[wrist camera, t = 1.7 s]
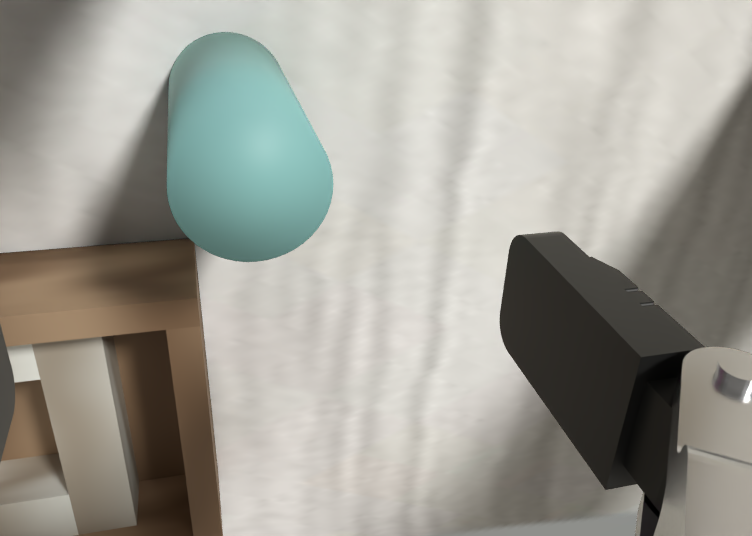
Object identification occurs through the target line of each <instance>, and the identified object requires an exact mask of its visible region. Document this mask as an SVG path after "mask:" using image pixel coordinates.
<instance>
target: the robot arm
mask: <svg viewBox="0 0 752 536" xmlns="http://www.w3.org/2000/svg"><path fill="white" fill-rule="evenodd" d="M500 330H501V335H502V339H503V342H504V345H505V347H506V349H507V351H508V353H509V354H510V355H511V357H512V358H513V360H514V361H515V362H516V364H517V365H518V367H519V368H520V370H521V371H522V372H523V374H524V375H525V377H526V378H527V379H528V381H529V382H530V384H531V385H532V386H533V388H534V389H535V391H536V392H537V394H538V395H539V396H540V398H541V399H542V401H543V402H544V403H545V405H546V406H547V408H548V409H549V410H550V412H551V413H552V415H553V416H554V418H555V419H556V420H557V422H558V423H559V425H560V426H561V427H562V429H563V430H564V432H565V433H566V435H567V436H568V437H569V439H570V440H571V442H572V443H573V444H574V446H575V447H576V449H577V450H578V451H579V453H580V454H581V456H582V457H583V459H584V460H585V461H586V463H587V464H588V466H589V467H590V468H591V470H592V471H593V473H594V474H595V476H596V477H597V478H598V480H599V481H600V483H601V484H602V485H603V487H604V488H605V490H607V489H613V488H618V487H623V486H629V485H634V484H638V485H639V487H640V488H641V489H642V491H643V494H642V497H641V501H640V504H639V508H638V513H637V521H636V530H635V536H752V354H750V353H748V352H744V351H741V350H737V349H732V348H726V347H704V346H703V345H702V344H701V343H700V342H699V341H697V340H696V339H695V338H694V337H693V336H692V335H691V334H690V333H688V332H687V331H686V330H685V329H684V328H683V327H682V326H681V325H680V324H678V323H677V322H676V321H675V320H674V319H673V318H672V317H671V316H669V315H668V314H667V313H666V312H665V311H664V310H663V309H662V308H660V307H659V306H658V305H654V301H653V300H652V299H650V298H649V297H648V296H647V295H646V294H645V293H644V292H643V291H638V287H637V286H636V285H635V284H634V283H632V282H631V281H630V280H629V279H628V278H627V277H626V276H625V275H624V274H622V273H621V272H620V271H619V270H617V269H615V268H613V267H611V266H609V265H607V264H605V263H603V262H601V261H599V260H597V259H595V258H593V257H589V256H588V255H586V254H585V253H584V252H583V251H582V250H581V249H580V248H579V247H578V246H577V245H576V244H575V243H573V242H572V241H571V240H570V239H569V238H568V237H567V236H566V235H565V234H563V233H562V232H548V233H537V234H525V235H518V236H516V237H515V238H514V239H513V240H512V242H511V245H510V249H509V255H508V262H507V269H506V276H505V283H504V290H503V297H502V304H501V311H500ZM14 408H15V383H14V376H13V370H12V366H11V363H10V359H9V355H8V351H7V347H6V344H5V340H4V336H3V332H2V328H1V325H0V463H1V459H2V455H3V451H4V448H5V444H6V440H7V436H8V433H9V429H10V425H11V421H12V418H13V414H14Z"/></svg>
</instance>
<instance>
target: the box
mask: <svg viewBox="0 0 752 536" xmlns="http://www.w3.org/2000/svg"><path fill="white" fill-rule="evenodd" d="M0 325H1V328H2V332H3V336H4V340H5V344H6V347H7V351H8V355H9V359H10V363H11V366H12V370H13V376H14V383H15V408H14V414H13V418H12V421H11V425H10V429H9V433H8V436H7V440H6V444H5V448H4V451H3V455H2V459H1V463H0V536H223V532H222V519H221V505H220V492H219V478H218V467H217V458H216V448H215V438H214V429H213V419H212V409H211V399H210V390H209V380H208V370H207V361H206V351H205V341H204V332H203V322H202V312H201V302H200V293H199V283H198V273H197V264H196V254H195V244H194V242H193V241H191V240H190V239H176V240H163V241H151V242H138V243H125V244H112V245H100V246H87V247H74V248H61V249H49V250H36V251H23V252H10V253H0Z"/></svg>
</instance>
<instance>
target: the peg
mask: <svg viewBox="0 0 752 536" xmlns="http://www.w3.org/2000/svg"><path fill="white" fill-rule="evenodd" d="M332 193H333V174H332V170H331V165H330V162H329V159H328V156H327V154H326V152H325V150H324V148H323V147H322V145H321V143H320V141H319V139H318V137H317V135H316V133H315V132H314V130H313V128H312V126H311V124H310V122H309V120H308V118H307V117H306V115H305V113H304V111H303V109H302V107H301V105H300V103H299V102H298V100H297V98H296V96H295V94H294V92H293V90H292V88H291V87H290V85H289V83H288V81H287V79H286V77H285V75H284V73H283V72H282V70H281V68H280V66H279V64H278V62H277V61H276V59H275V58H274V56H273V55H272V54H271V53H270V52H269V51H268V49H266V48H265V47H264V46H263V45H262V44H260V43H259V42H257V41H256V40H254V39H252V38H250V37H248V36H244V35H241V34H237V33H231V32H220V33H213V34H209V35H206V36H203V37H201V38H199V39H197V40H195V41H193V42H192V43H191V44H189V45H188V46H187V47H186V48H185V49H184V50H183V51H182V52H181V53H180V55H179V56H178V57H177V59H176V61H175V63H174V65H173V67H172V70H171V73H170V77H169V90H168V143H167V196H168V202H169V206H170V209H171V212H172V215H173V216H174V218H175V220H176V222H177V224H178V225H179V227H180V228H181V230H182V231H183V232H184V233H185V234H186V236H187V237H188V238H189V239H190V240H191V241H193V242H194V243H195V244H196V245H197V246H199V247H201V248H202V249H204V250H205V251H207V252H209V253H211V254H213V255H216V256H218V257H221V258H224V259H229V260H234V261H242V262H257V261H264V260H269V259H272V258H276V257H279V256H281V255H284V254H286V253H288V252H290V251H292V250H294V249H296V248H297V247H299V246H300V245H301V244H303V243H304V242H305V241H306V240H307V239H309V238H310V237H311V236H312V235H313V233H314V232H315V231H316V230H317V229H318V227H319V226H320V224H321V223H322V222H323V220H324V218H325V216H326V214H327V212H328V209H329V206H330V203H331V198H332Z"/></svg>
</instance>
